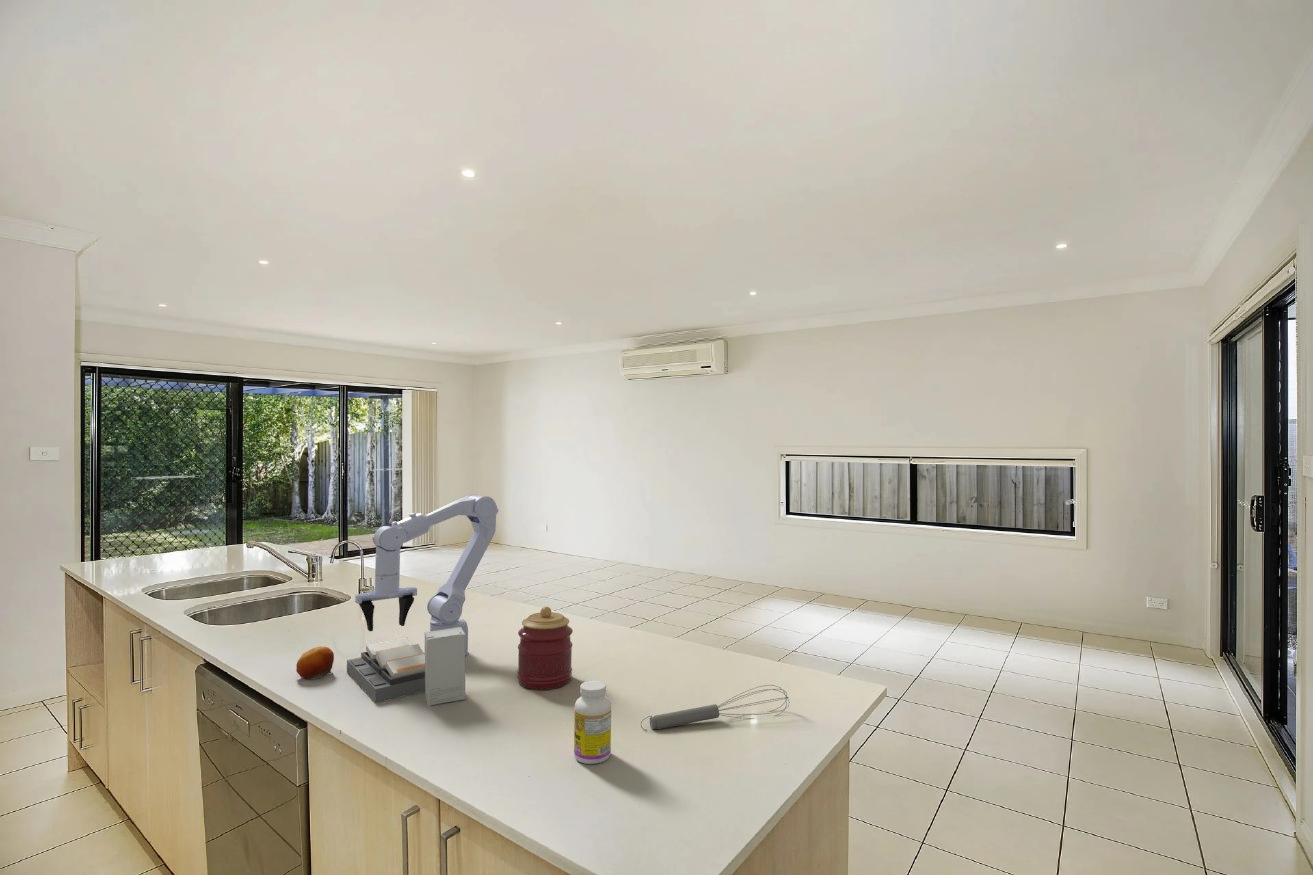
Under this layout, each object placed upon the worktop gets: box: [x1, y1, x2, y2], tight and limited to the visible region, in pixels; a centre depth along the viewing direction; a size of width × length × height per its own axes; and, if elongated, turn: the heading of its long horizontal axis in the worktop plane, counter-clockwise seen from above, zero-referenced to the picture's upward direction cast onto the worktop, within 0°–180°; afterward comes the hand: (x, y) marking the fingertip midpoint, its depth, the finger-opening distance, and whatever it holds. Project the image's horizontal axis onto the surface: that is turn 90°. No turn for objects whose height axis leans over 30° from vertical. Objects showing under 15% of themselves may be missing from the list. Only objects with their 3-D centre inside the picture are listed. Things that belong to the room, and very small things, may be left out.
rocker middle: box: [376, 643, 424, 669], centre depth 149 cm, size 10×6×2 cm, turn 130°
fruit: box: [295, 645, 335, 680], centre depth 149 cm, size 8×8×8 cm
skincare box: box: [424, 627, 466, 707], centre depth 137 cm, size 8×6×15 cm
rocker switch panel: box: [346, 651, 425, 704], centre depth 149 cm, size 15×28×4 cm, turn 40°
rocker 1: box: [365, 636, 414, 660], centre depth 155 cm, size 10×6×2 cm, turn 130°
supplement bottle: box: [573, 680, 612, 765], centre depth 112 cm, size 7×7×13 cm
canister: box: [516, 606, 573, 691], centre depth 148 cm, size 13×13×18 cm
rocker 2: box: [386, 654, 425, 679], centre depth 143 cm, size 10×6×2 cm, turn 130°
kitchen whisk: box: [640, 684, 791, 731], centre depth 127 cm, size 6×33×6 cm, turn 107°
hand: (386, 627), depth 156 cm, fingers open, 7 cm apart
